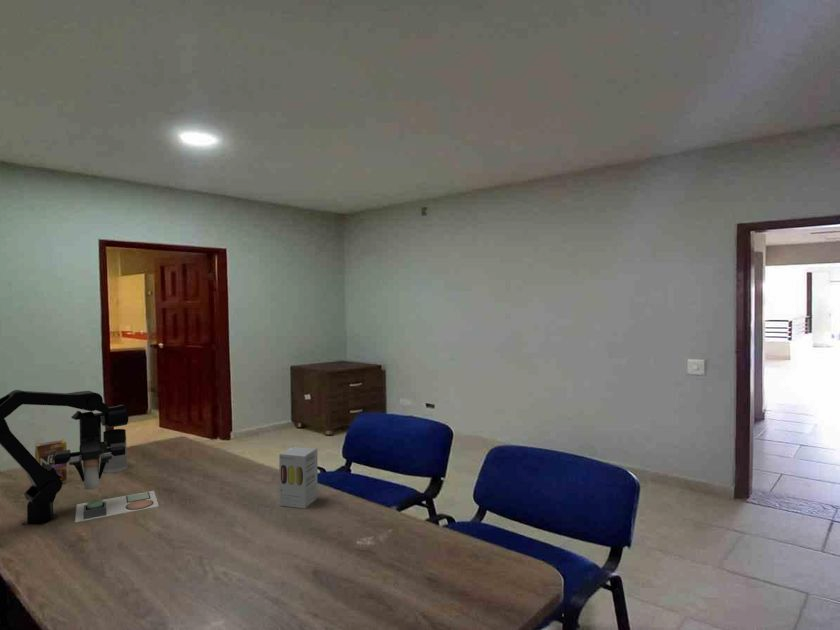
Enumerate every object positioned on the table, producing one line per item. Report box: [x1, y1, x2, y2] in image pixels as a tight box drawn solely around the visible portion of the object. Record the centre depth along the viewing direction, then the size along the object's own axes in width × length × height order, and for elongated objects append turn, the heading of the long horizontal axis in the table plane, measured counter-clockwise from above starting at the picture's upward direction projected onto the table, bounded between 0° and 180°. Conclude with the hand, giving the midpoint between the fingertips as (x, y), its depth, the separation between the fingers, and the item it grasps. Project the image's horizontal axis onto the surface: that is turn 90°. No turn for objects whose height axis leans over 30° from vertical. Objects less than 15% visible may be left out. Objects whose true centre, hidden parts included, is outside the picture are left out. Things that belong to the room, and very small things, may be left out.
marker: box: [82, 458, 100, 491], centre depth 161 cm, size 4×4×10 cm
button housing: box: [83, 501, 106, 519], centre depth 155 cm, size 6×6×2 cm
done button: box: [86, 499, 103, 510], centre depth 155 cm, size 4×4×2 cm
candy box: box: [34, 439, 68, 484], centre depth 182 cm, size 9×4×15 cm, turn 134°
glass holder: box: [99, 428, 129, 474], centre depth 197 cm, size 9×14×15 cm, turn 148°
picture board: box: [74, 490, 160, 523], centre depth 162 cm, size 22×16×1 cm
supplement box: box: [278, 446, 318, 509], centre depth 165 cm, size 10×9×17 cm
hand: (91, 480), depth 161 cm, fingers closed on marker, 4 cm apart
